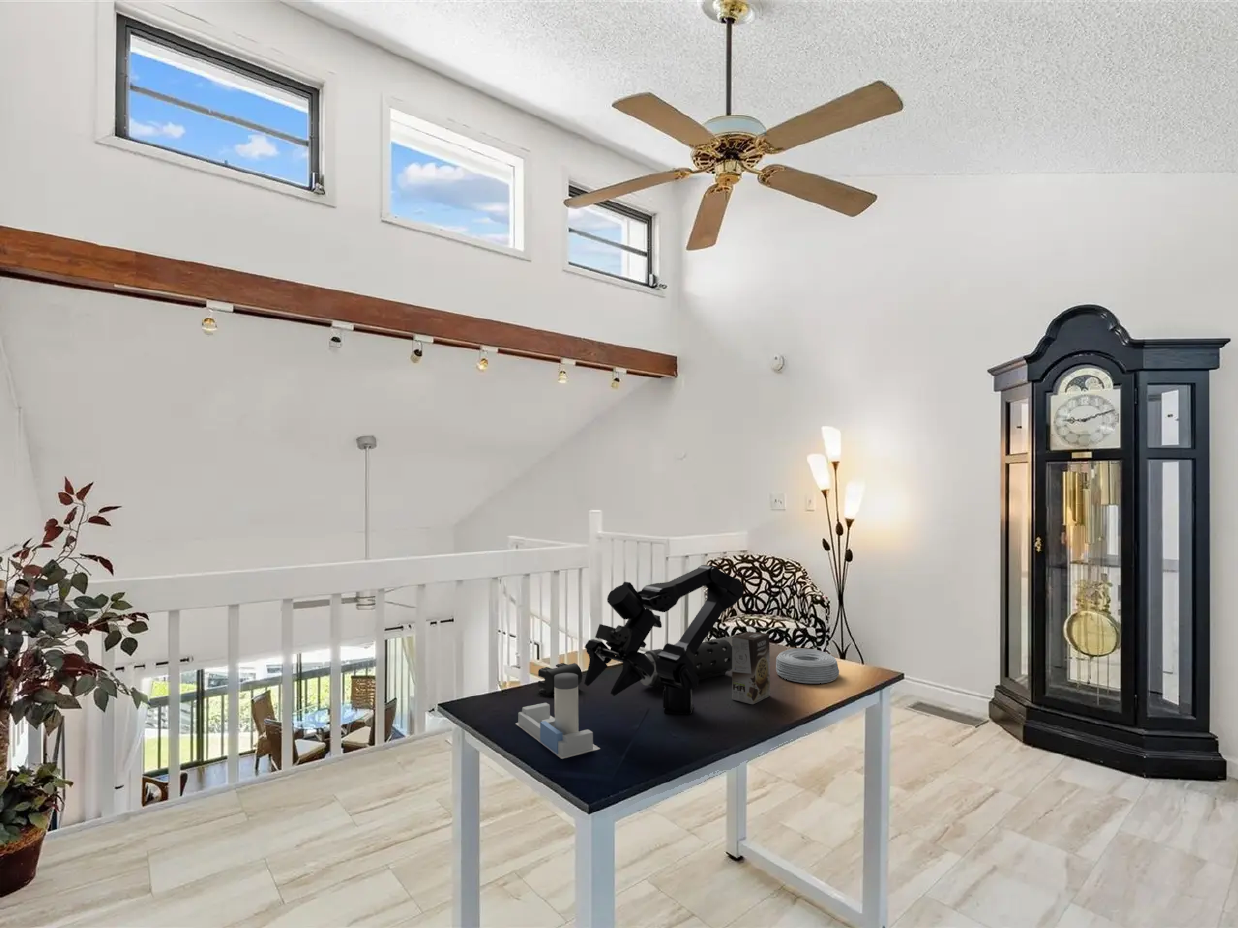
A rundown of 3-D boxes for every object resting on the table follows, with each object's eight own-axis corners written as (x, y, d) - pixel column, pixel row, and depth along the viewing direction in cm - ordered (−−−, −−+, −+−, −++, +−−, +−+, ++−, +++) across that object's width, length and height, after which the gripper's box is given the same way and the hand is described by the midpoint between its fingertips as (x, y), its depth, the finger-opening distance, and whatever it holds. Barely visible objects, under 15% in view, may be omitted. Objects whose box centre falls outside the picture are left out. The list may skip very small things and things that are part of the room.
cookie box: (753, 705, 167) (753, 640, 168) (731, 699, 171) (730, 636, 172) (771, 695, 174) (770, 633, 175) (749, 690, 178) (748, 629, 179)
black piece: (553, 699, 173) (553, 672, 173) (536, 692, 178) (536, 667, 178) (582, 690, 180) (582, 664, 180) (565, 684, 185) (565, 659, 185)
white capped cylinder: (578, 737, 145) (577, 672, 145) (578, 746, 140) (578, 679, 140) (555, 738, 144) (554, 673, 145) (554, 747, 139) (554, 680, 140)
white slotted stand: (550, 719, 158) (550, 698, 158) (600, 752, 139) (600, 729, 139) (515, 726, 153) (515, 705, 154) (561, 762, 134) (561, 738, 134)
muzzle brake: (736, 678, 190) (736, 641, 190) (654, 695, 175) (654, 656, 175) (714, 670, 198) (714, 635, 198) (634, 686, 183) (634, 648, 184)
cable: (806, 664, 204) (806, 644, 204) (853, 679, 189) (852, 657, 189) (763, 673, 195) (763, 652, 195) (808, 689, 180) (808, 667, 180)
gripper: (590, 604, 159) (552, 660, 151) (644, 616, 145) (605, 678, 137) (616, 632, 164) (580, 687, 156) (670, 646, 150) (634, 708, 142)
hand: (598, 689), depth 148 cm, fingers open, 9 cm apart
